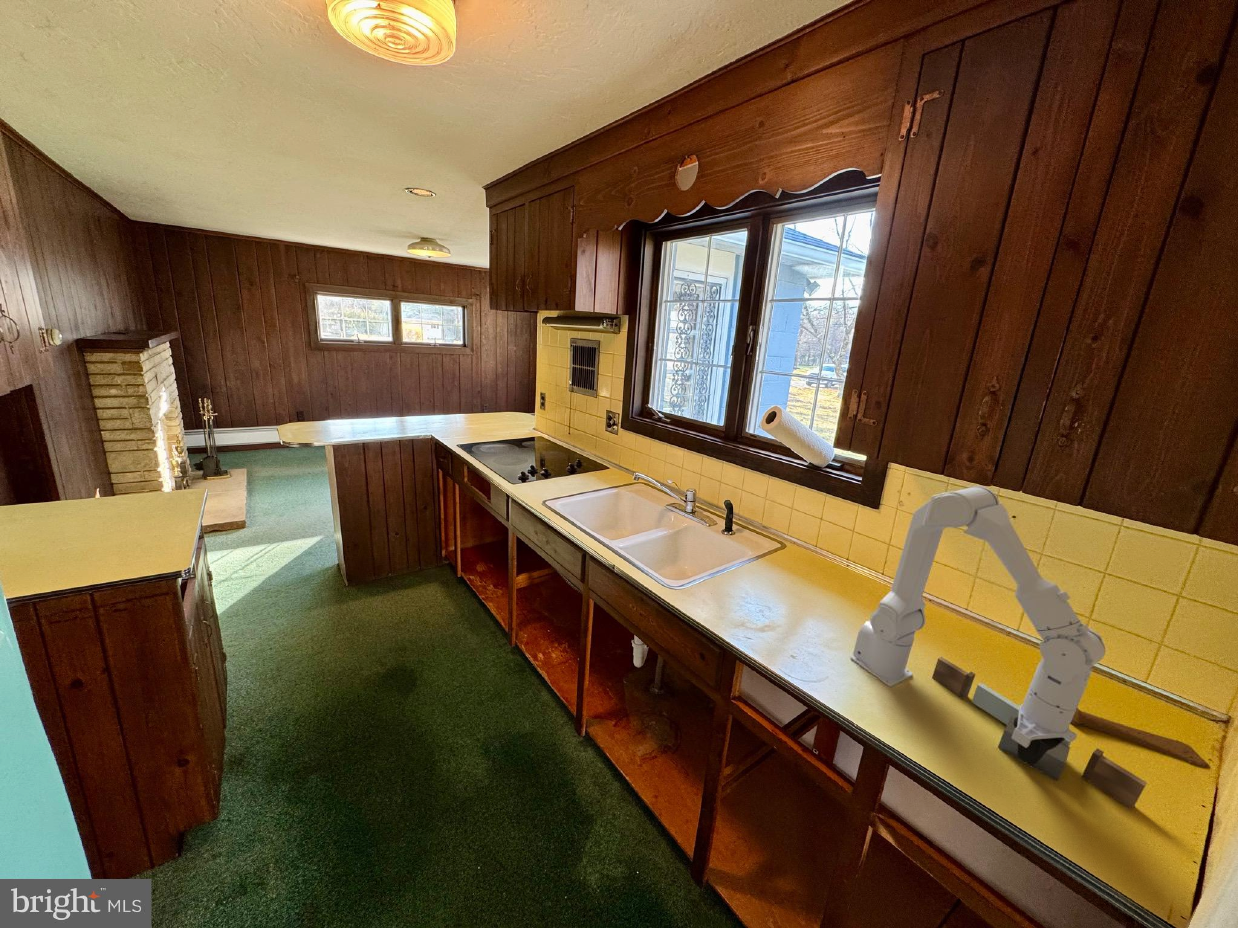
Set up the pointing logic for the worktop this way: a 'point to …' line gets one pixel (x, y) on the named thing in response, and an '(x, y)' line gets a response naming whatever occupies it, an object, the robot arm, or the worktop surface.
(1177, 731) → the worktop surface
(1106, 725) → the primitive tool
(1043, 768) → the block
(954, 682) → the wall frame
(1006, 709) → the pale grey-green bar
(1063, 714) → the robot arm
